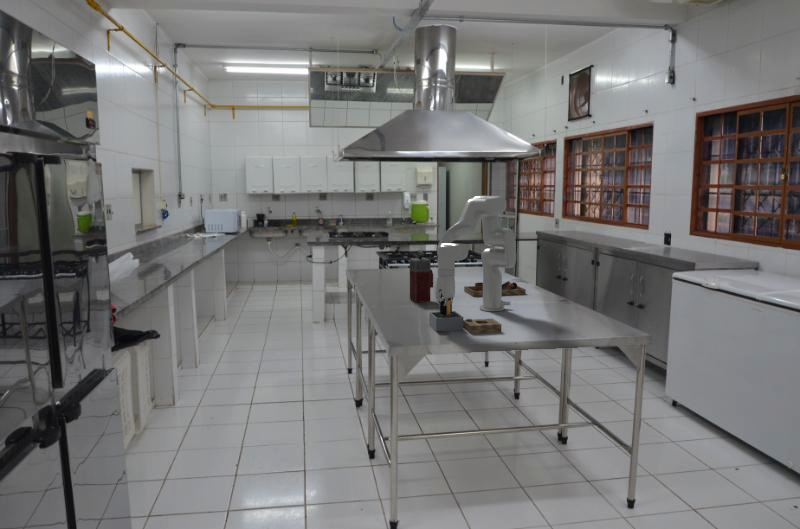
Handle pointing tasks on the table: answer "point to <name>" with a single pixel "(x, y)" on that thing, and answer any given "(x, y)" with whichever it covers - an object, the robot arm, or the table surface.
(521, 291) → the serving frame
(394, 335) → the table surface
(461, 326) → the bin
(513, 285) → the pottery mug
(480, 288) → the cup and saucer
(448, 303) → the cylinder
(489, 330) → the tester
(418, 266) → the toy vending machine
